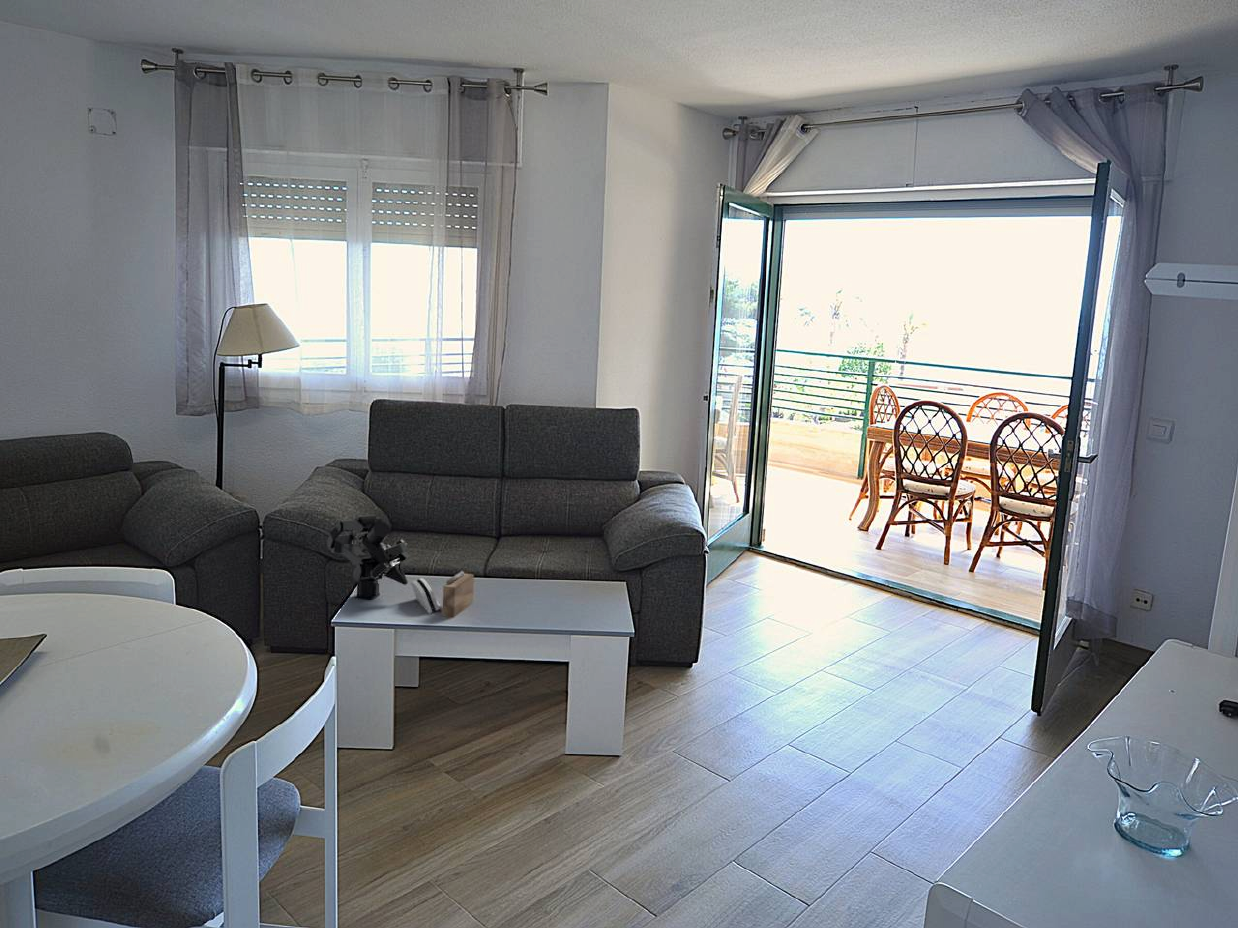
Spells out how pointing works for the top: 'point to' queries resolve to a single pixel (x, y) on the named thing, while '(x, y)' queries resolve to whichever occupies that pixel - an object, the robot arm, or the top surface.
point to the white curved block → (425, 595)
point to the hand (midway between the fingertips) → (406, 583)
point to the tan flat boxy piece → (457, 594)
